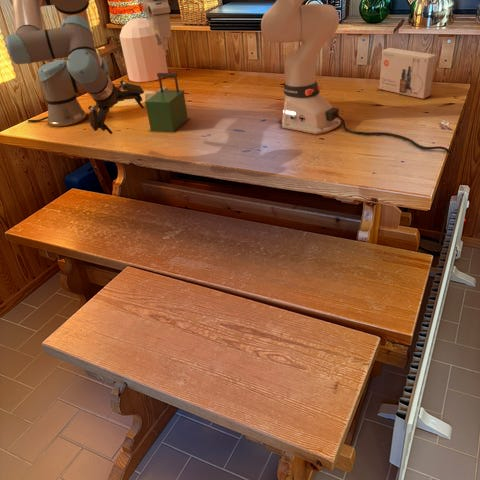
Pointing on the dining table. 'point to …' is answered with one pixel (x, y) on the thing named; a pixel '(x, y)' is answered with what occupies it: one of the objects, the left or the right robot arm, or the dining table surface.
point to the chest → (167, 115)
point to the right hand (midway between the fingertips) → (162, 47)
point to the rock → (149, 95)
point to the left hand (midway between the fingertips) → (125, 118)
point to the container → (142, 51)
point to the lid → (165, 92)
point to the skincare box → (407, 72)
